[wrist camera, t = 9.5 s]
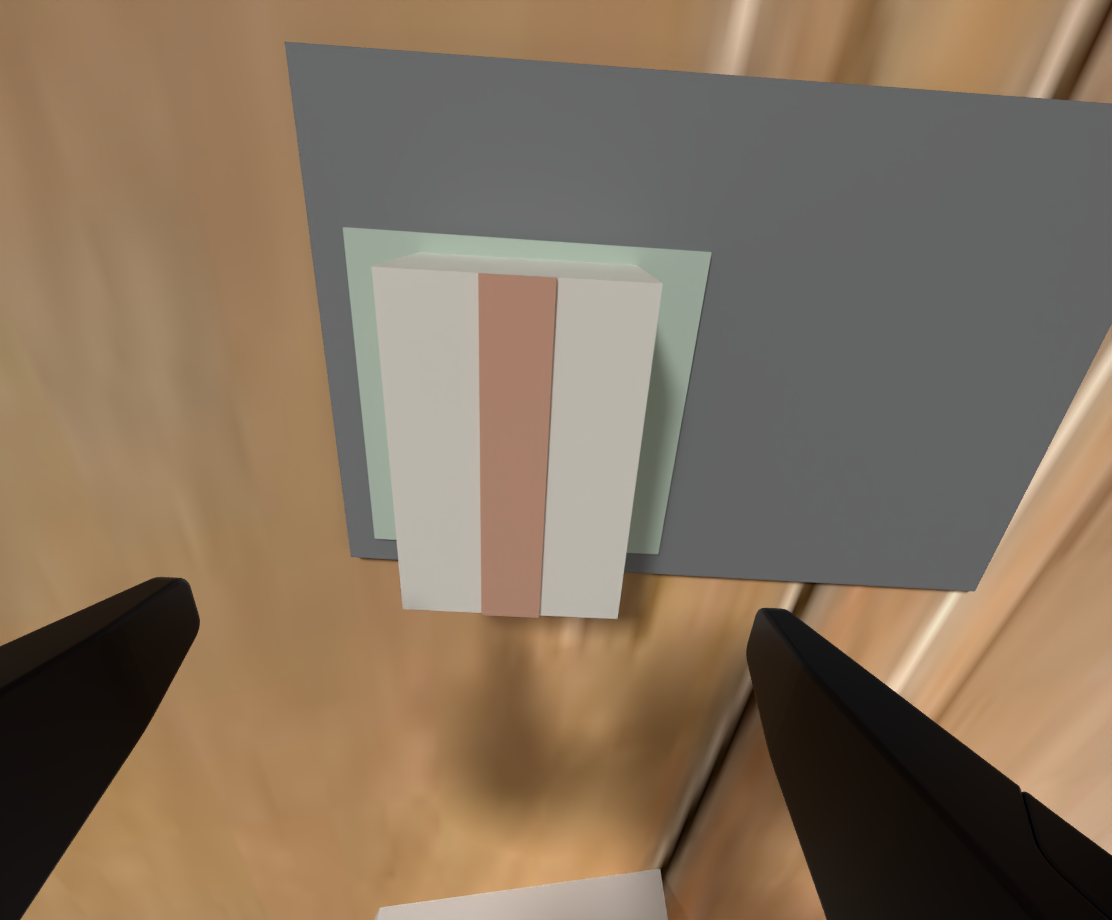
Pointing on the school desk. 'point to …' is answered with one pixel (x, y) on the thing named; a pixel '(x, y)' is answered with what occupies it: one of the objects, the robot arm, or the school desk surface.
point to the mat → (742, 287)
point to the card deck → (514, 428)
